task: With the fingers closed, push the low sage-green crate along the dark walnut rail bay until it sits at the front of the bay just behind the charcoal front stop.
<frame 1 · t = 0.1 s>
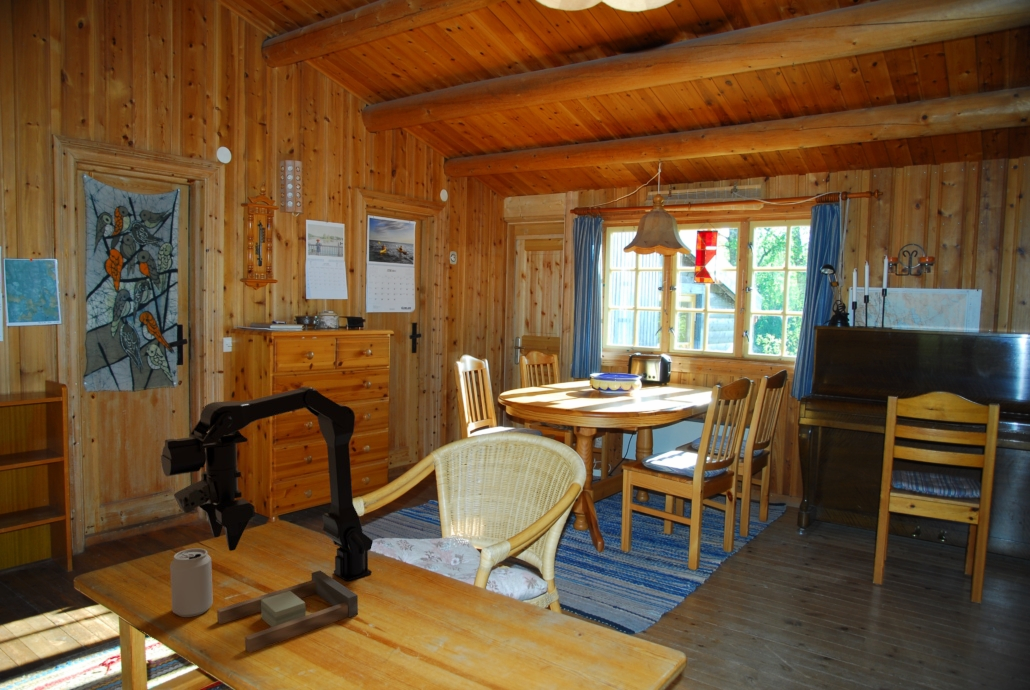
hand: (224, 543, 138), 15 cm above the table, tool pointing down, fingers open, 9 cm apart
crate: (283, 620, 137), resting in bay
bay: (288, 617, 138), on the table
can: (192, 611, 141), on the table
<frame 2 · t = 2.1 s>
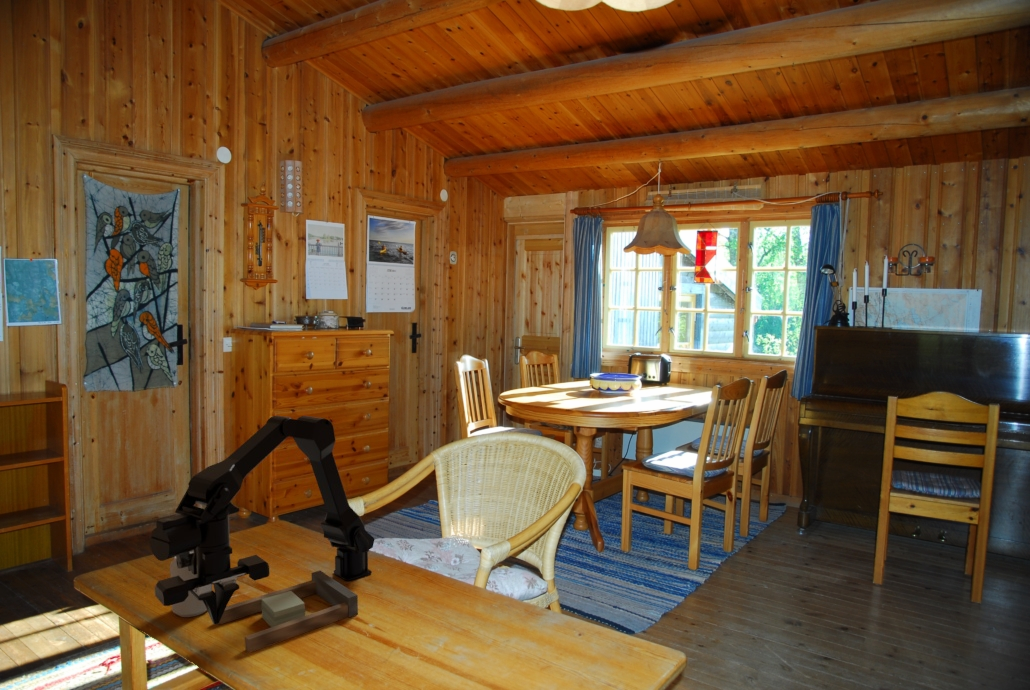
hand: (215, 623, 128), 4 cm above the table, tool pointing down, fingers closed
nothing on the table moved.
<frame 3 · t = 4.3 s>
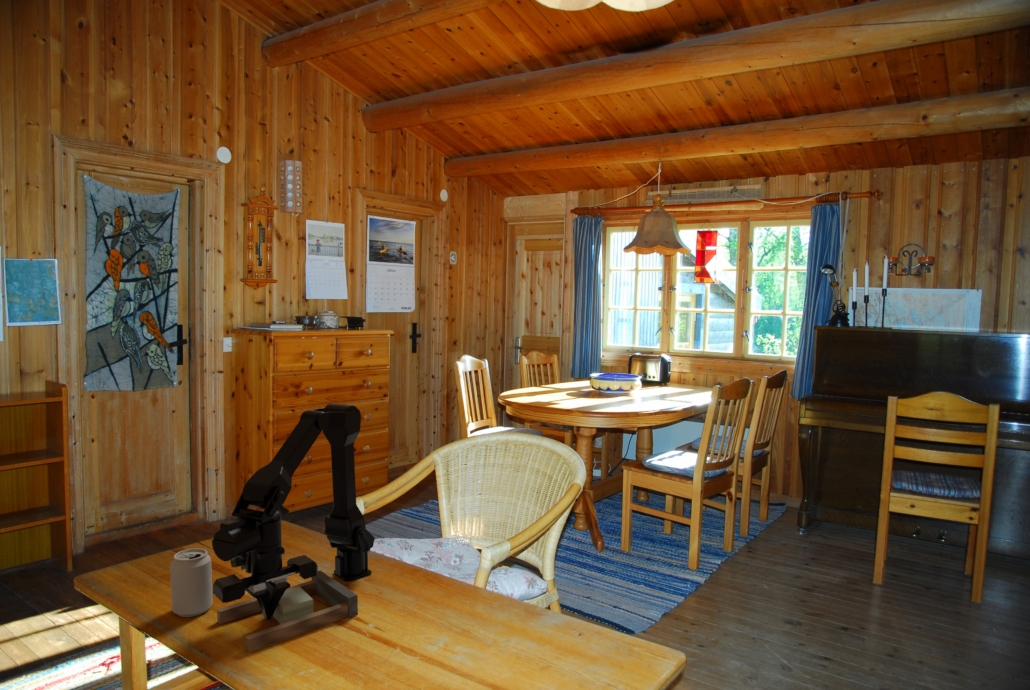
hand: (268, 619, 135), 1 cm above the table, tool pointing down, fingers closed
crate: (292, 616, 138), resting in bay, touching gripper
everything else where it was.
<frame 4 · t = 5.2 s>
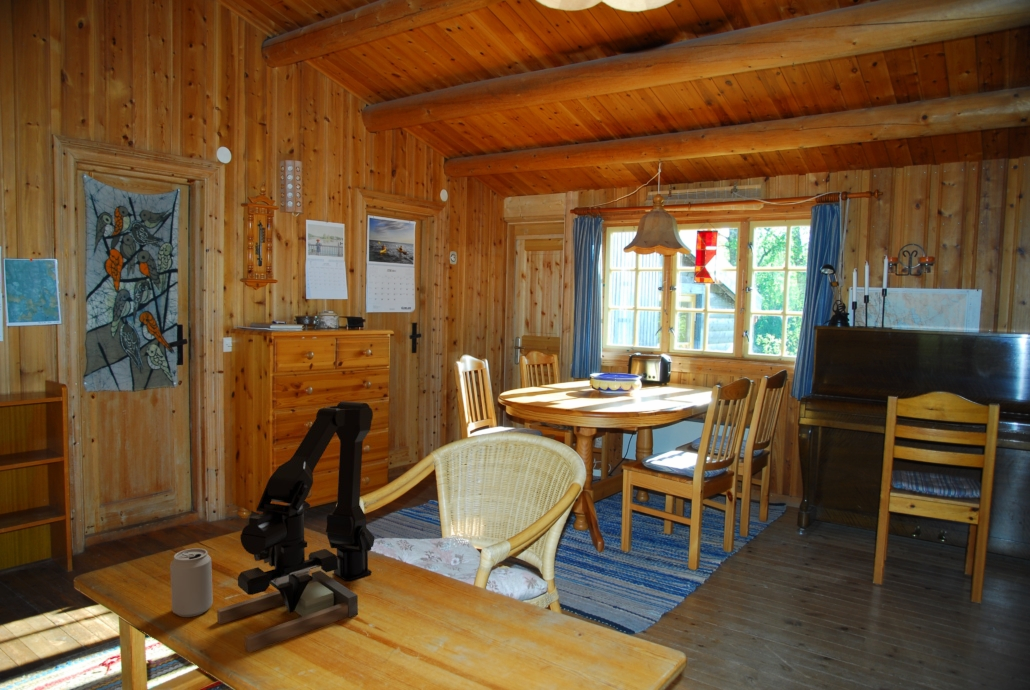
hand: (290, 611, 138), 1 cm above the table, tool pointing down, fingers closed
crate: (312, 609, 142), resting in bay, touching gripper
everything else where it was.
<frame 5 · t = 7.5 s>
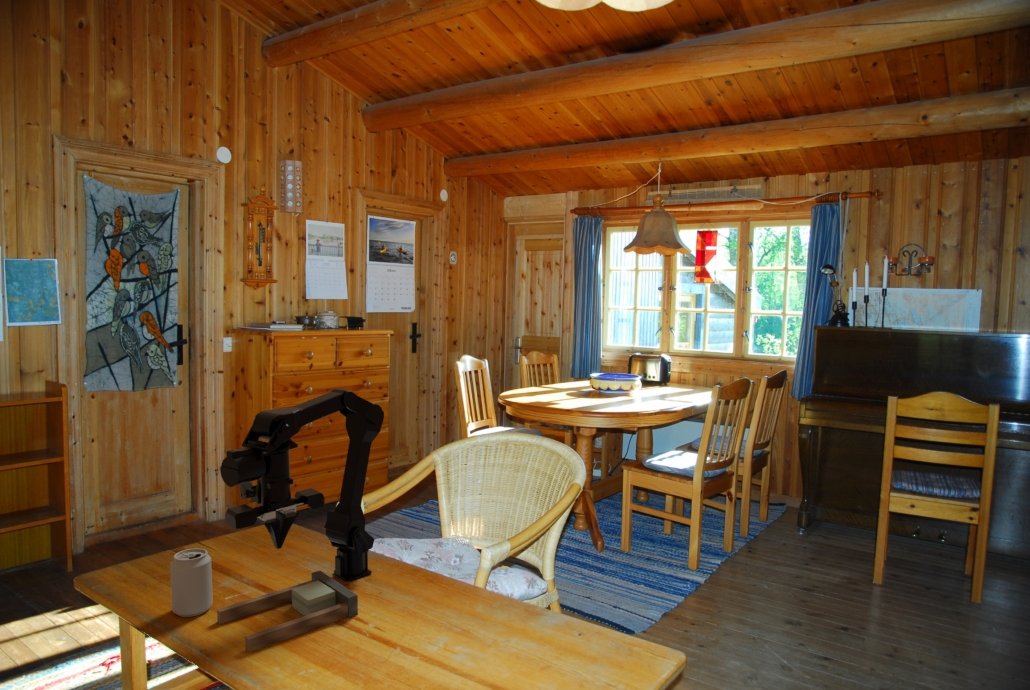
hand: (278, 548, 141), 13 cm above the table, tool pointing down, fingers closed
crate: (313, 608, 142), resting in bay
everything else where it was.
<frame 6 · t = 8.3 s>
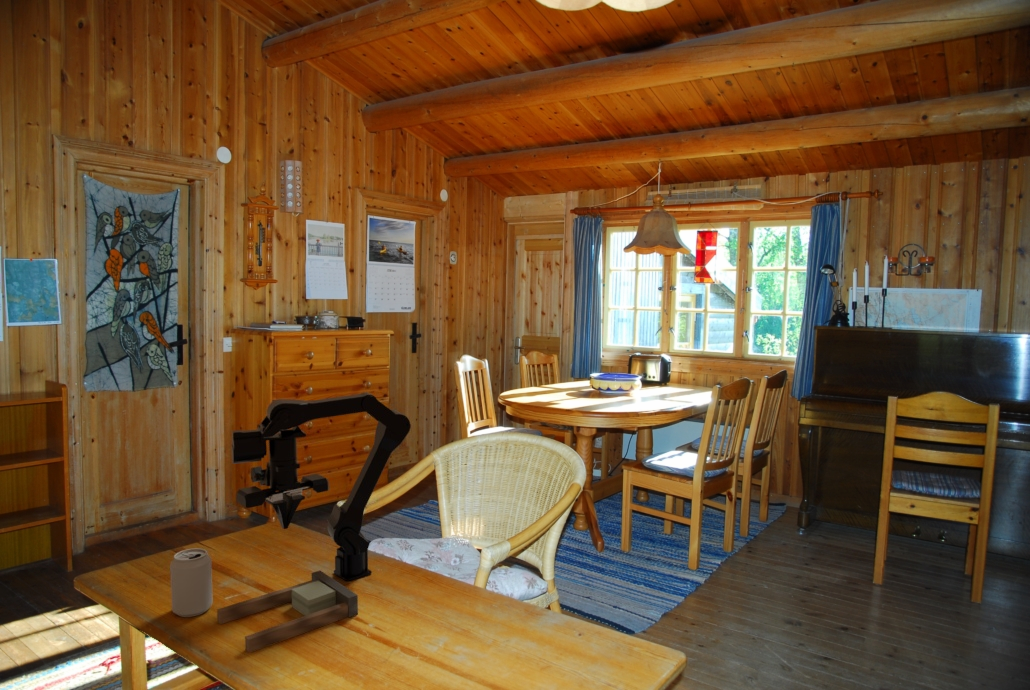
hand: (284, 528, 151), 13 cm above the table, tool pointing down, fingers closed
nothing on the table moved.
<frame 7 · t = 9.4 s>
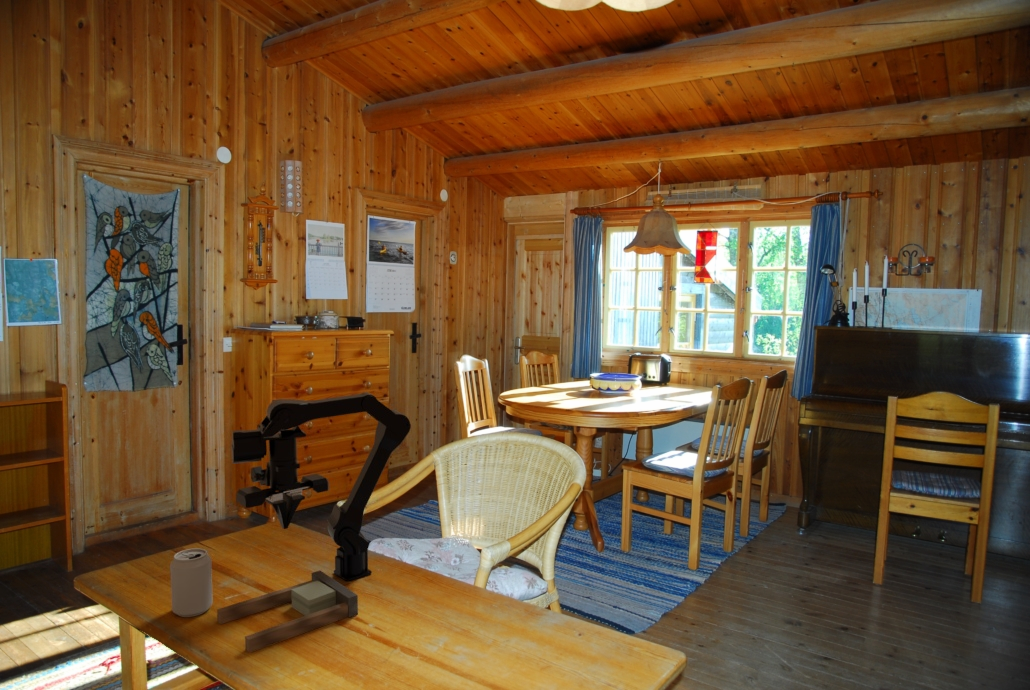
hand: (284, 528, 151), 13 cm above the table, tool pointing down, fingers closed
nothing on the table moved.
at the end: crate 1.3 cm from the target spot, resting in bay; crate tilted 0°; crate moved 6.8 cm from its start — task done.
